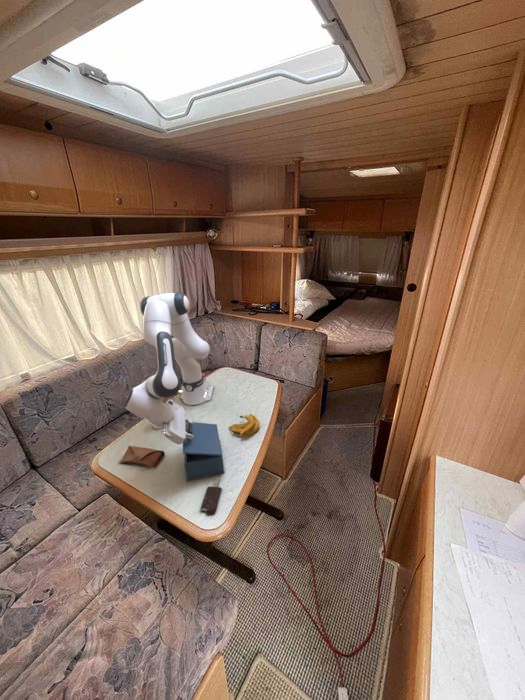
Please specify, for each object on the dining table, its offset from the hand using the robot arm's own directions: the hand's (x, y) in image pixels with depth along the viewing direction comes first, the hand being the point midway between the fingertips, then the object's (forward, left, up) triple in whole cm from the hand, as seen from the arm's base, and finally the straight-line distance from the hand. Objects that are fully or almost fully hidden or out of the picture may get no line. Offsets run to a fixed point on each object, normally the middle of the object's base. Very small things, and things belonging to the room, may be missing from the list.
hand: (192, 431), depth 114 cm
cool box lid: (-1, +3, -5) cm, 6 cm away
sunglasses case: (+3, -25, -16) cm, 30 cm away
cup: (-19, -28, -17) cm, 38 cm away
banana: (-24, +16, -17) cm, 33 cm away
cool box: (-1, +3, -16) cm, 17 cm away
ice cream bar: (+16, +13, -17) cm, 26 cm away
